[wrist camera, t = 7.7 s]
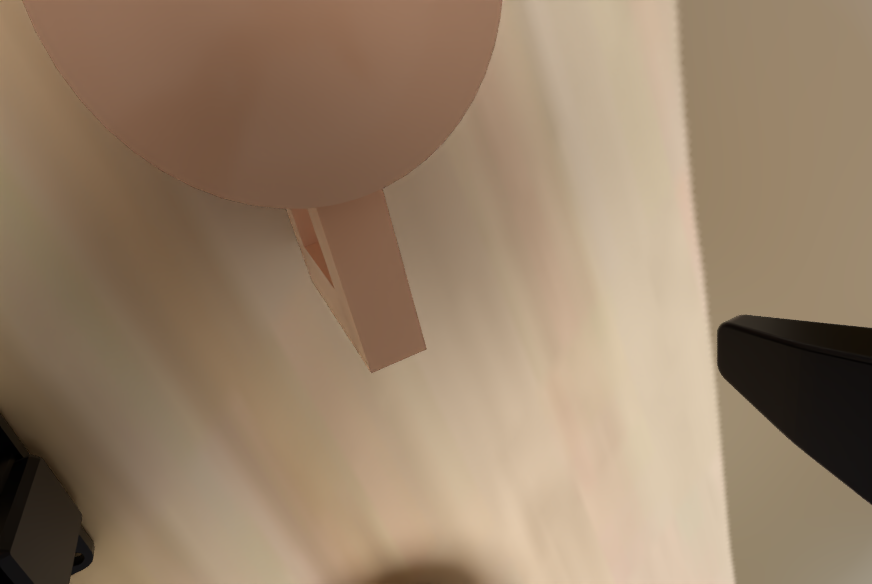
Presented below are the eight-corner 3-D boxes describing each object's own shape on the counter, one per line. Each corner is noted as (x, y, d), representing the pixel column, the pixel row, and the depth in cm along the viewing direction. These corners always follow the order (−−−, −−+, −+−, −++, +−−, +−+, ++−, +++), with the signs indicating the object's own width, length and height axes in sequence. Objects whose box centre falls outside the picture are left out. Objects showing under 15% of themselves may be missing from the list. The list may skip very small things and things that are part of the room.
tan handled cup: (212, 283, 18) (245, 455, 10) (40, -102, 13) (-143, -332, 5) (403, 214, 19) (558, 315, 12) (308, -147, 15) (456, -372, 7)
